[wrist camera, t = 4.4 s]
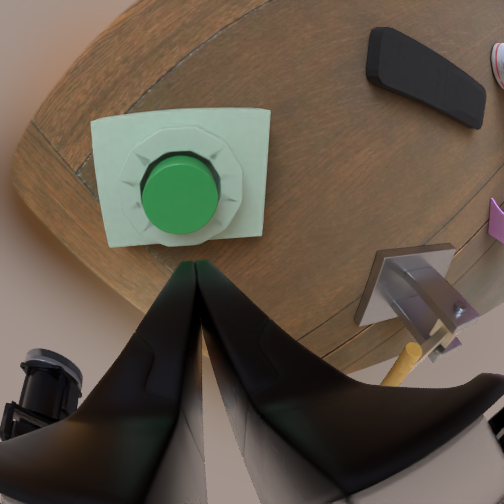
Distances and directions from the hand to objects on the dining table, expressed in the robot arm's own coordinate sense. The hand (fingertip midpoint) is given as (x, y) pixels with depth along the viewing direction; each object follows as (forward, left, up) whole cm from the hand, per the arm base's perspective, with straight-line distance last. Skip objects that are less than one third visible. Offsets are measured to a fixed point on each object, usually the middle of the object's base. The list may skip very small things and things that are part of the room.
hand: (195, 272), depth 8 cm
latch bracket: (+22, -12, -11) cm, 28 cm away
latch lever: (+18, -12, -3) cm, 22 cm away
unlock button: (-1, 0, -7) cm, 7 cm away
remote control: (+19, +9, -11) cm, 24 cm away
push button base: (-1, 0, -11) cm, 11 cm away
